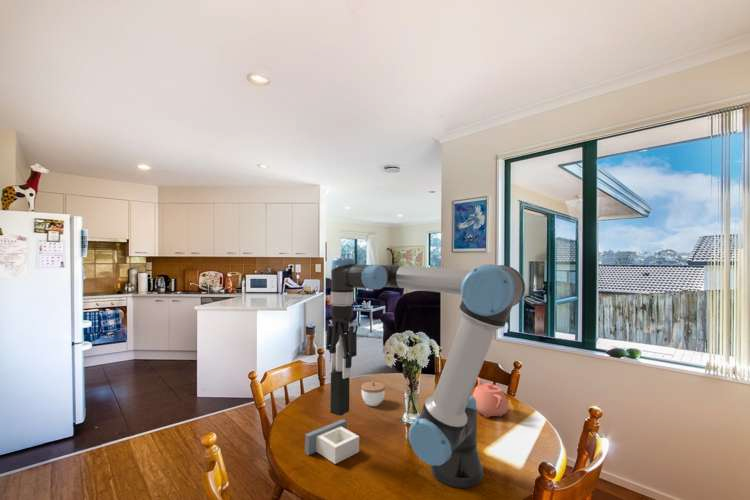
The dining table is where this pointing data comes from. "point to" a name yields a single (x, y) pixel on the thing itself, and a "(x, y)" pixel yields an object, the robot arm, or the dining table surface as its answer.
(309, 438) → the backstop wall
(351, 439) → the socket block
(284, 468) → the dining table surface
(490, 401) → the teapot
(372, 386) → the lidded jar
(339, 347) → the candle
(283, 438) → the dining table surface
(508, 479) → the dining table surface
